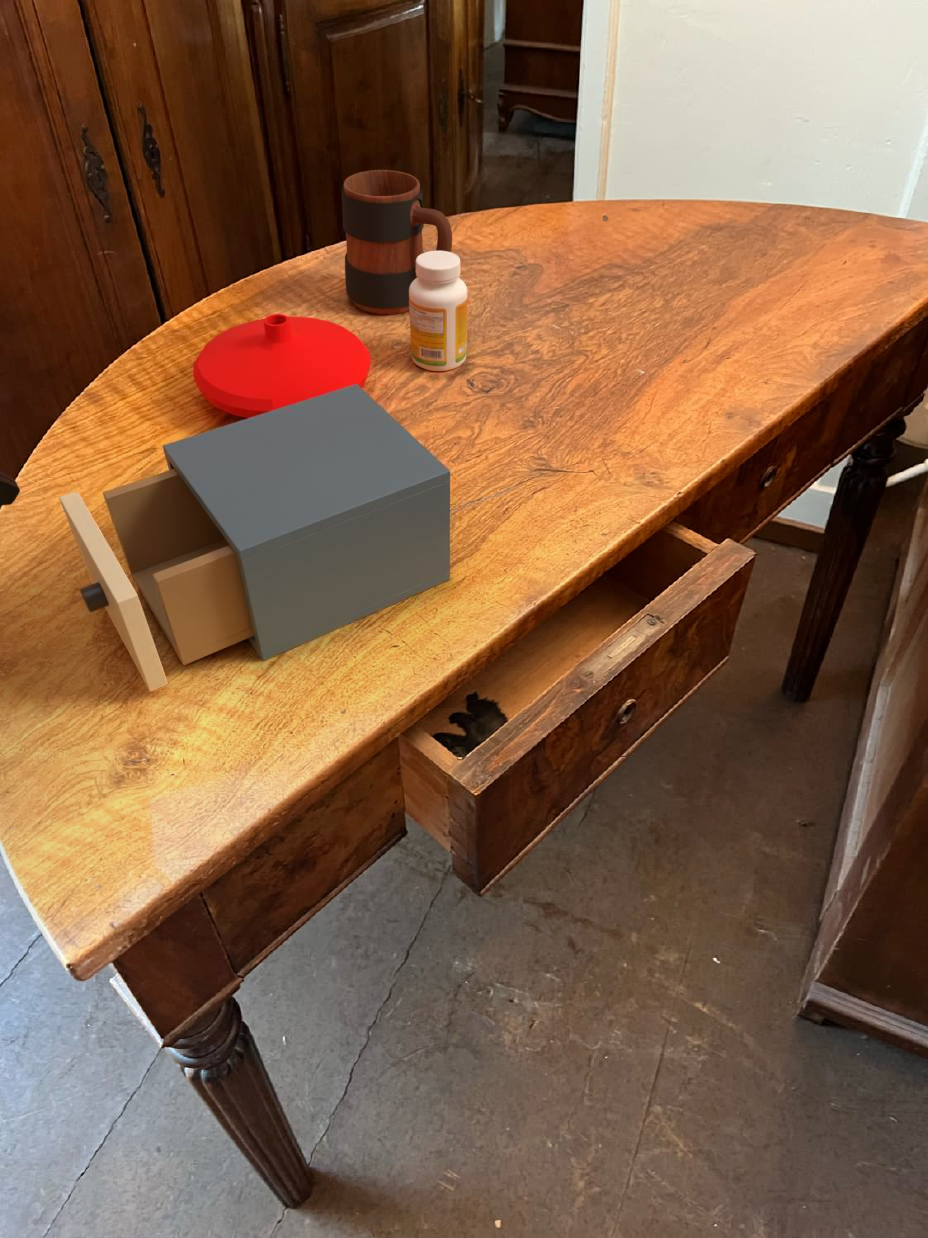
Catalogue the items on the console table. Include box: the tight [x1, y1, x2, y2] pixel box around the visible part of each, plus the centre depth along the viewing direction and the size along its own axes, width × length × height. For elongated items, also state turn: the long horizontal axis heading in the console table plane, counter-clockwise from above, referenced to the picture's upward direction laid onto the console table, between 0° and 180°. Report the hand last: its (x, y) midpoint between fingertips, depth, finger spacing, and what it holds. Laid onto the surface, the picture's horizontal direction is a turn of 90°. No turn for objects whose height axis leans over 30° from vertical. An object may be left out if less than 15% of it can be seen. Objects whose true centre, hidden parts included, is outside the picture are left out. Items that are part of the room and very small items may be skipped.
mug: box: [341, 169, 453, 315], centre depth 90 cm, size 9×12×12 cm
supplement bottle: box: [409, 250, 468, 372], centre depth 83 cm, size 5×5×10 cm
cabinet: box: [162, 384, 451, 662], centre depth 61 cm, size 15×13×10 cm
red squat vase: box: [192, 313, 372, 419], centre depth 79 cm, size 16×16×7 cm
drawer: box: [58, 469, 254, 693], centre depth 58 cm, size 15×11×8 cm
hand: (15, 493), depth 49 cm, fingers closed
